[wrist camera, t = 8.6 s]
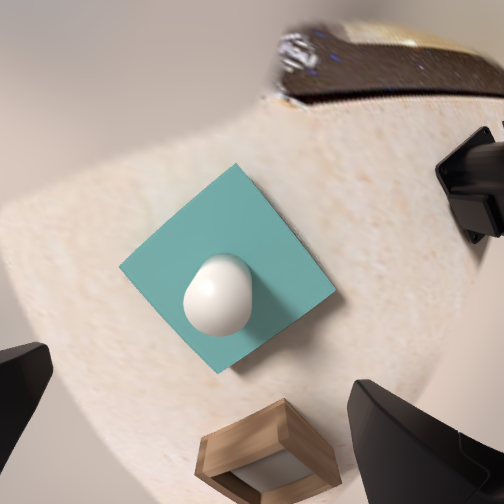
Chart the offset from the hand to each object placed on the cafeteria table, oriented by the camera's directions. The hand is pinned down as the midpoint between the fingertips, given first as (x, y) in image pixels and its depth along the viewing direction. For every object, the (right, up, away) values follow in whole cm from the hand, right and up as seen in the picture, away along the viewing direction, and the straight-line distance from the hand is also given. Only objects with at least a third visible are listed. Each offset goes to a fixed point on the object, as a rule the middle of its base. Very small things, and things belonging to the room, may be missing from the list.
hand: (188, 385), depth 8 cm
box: (+3, -13, +15) cm, 20 cm away
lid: (0, +2, +12) cm, 12 cm away
